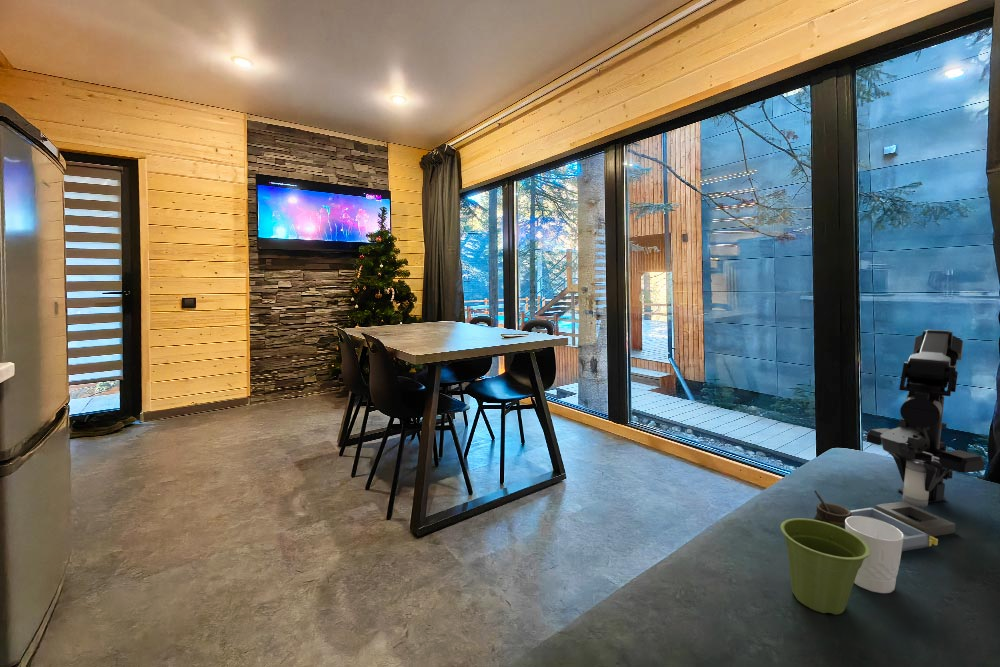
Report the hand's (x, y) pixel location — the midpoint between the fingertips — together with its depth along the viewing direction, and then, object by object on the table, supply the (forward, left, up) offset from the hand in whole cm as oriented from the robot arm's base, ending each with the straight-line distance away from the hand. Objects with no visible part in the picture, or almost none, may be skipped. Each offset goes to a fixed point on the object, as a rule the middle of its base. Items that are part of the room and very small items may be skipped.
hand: (916, 486), depth 95 cm
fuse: (0, 0, -4) cm, 4 cm away
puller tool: (+3, -5, -8) cm, 10 cm away
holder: (0, 0, -8) cm, 8 cm away
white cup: (+13, -28, -9) cm, 32 cm away
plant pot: (+15, -41, -9) cm, 45 cm away
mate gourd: (+3, -25, -9) cm, 27 cm away
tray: (+2, -11, -8) cm, 14 cm away
